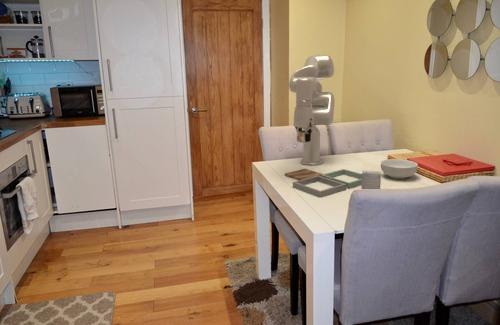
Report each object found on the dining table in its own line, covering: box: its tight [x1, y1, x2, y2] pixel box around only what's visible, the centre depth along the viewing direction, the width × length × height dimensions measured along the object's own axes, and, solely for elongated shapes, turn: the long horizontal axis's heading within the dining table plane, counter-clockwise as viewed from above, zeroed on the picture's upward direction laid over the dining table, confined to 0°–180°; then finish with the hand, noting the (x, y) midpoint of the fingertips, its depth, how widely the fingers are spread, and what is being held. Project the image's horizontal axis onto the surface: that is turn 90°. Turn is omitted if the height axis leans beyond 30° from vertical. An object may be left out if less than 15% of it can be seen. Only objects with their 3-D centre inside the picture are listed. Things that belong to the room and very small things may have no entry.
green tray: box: [321, 168, 362, 189], centre depth 180 cm, size 18×16×2 cm
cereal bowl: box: [380, 158, 419, 180], centre depth 182 cm, size 17×17×7 cm
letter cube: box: [296, 129, 311, 144], centre depth 185 cm, size 5×5×5 cm
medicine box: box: [361, 170, 382, 190], centre depth 164 cm, size 8×4×9 cm, turn 71°
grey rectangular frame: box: [292, 176, 347, 198], centre depth 170 cm, size 18×16×2 cm
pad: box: [284, 168, 323, 181], centre depth 190 cm, size 14×14×1 cm
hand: (304, 140), depth 185 cm, fingers closed on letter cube, 5 cm apart
